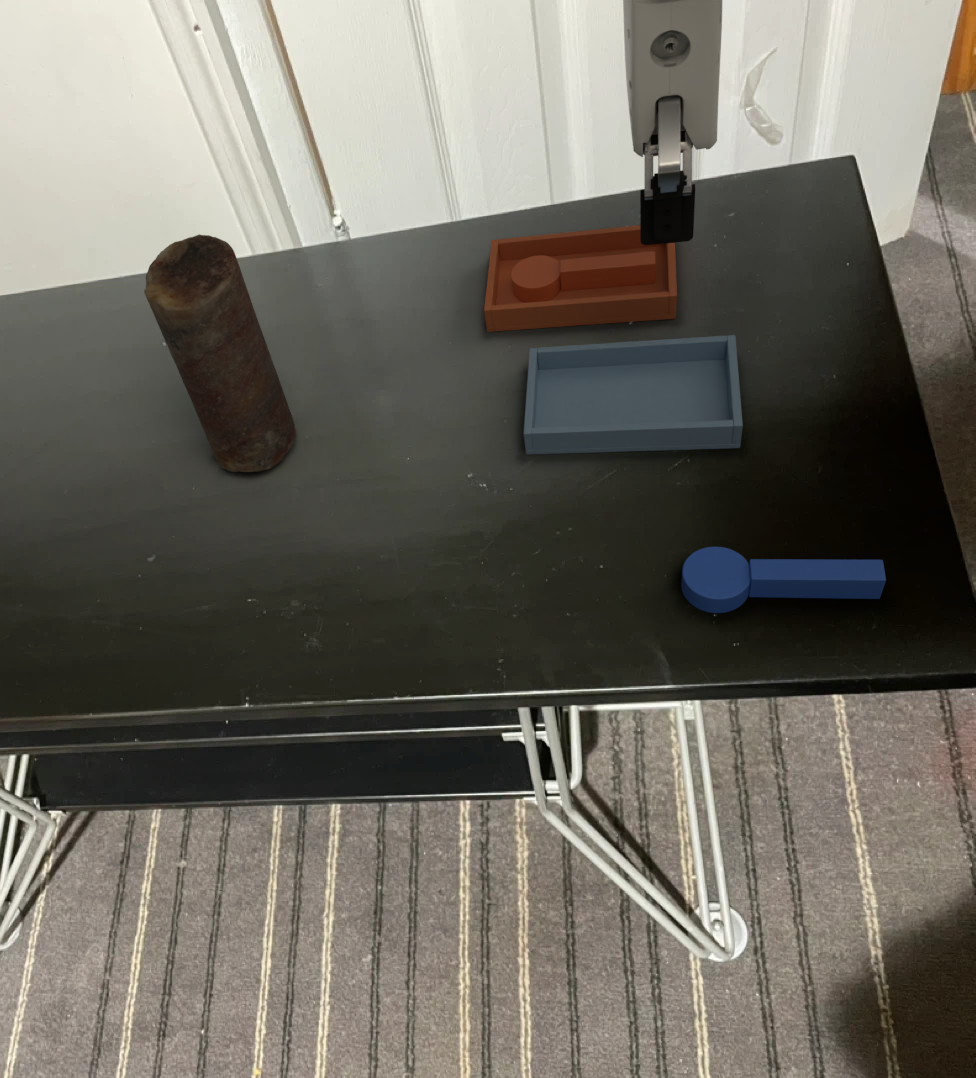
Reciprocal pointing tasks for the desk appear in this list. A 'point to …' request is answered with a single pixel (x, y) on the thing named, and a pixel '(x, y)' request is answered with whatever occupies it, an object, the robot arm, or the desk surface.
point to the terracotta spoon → (579, 274)
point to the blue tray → (634, 396)
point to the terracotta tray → (585, 303)
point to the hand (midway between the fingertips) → (665, 193)
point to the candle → (220, 352)
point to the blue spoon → (774, 579)
